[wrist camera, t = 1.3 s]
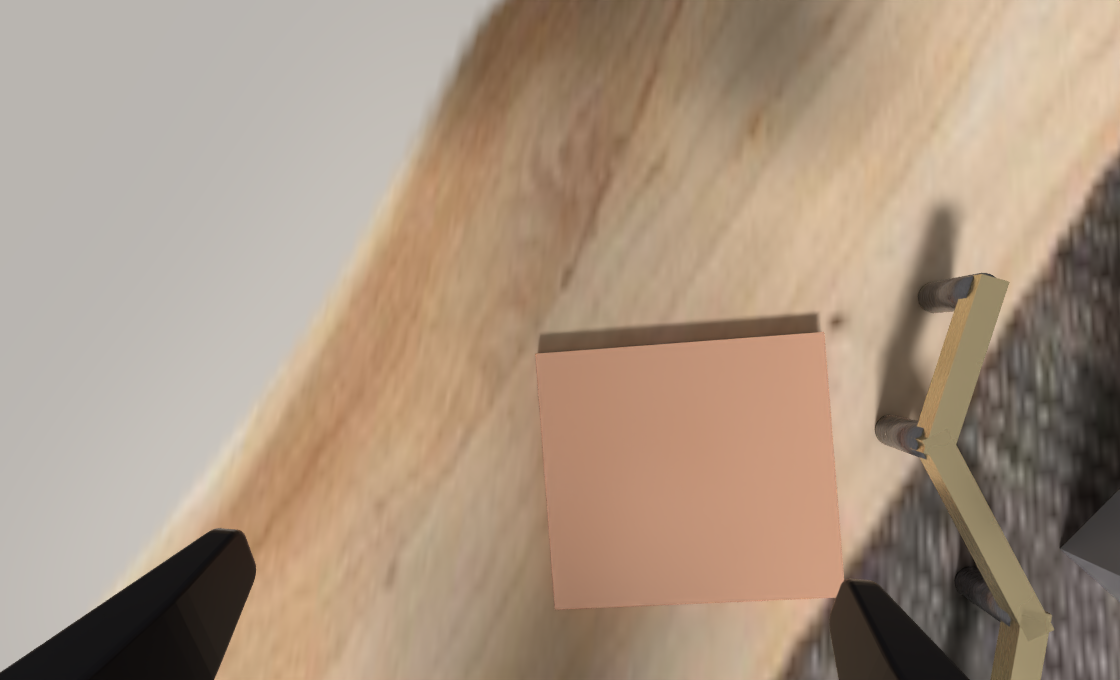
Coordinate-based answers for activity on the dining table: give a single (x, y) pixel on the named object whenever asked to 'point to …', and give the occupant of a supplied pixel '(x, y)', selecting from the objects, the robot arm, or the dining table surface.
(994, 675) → the bent wire
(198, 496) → the dining table surface
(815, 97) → the dining table surface
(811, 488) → the terracotta tile
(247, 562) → the robot arm
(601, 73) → the dining table surface
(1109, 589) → the gray pillar
